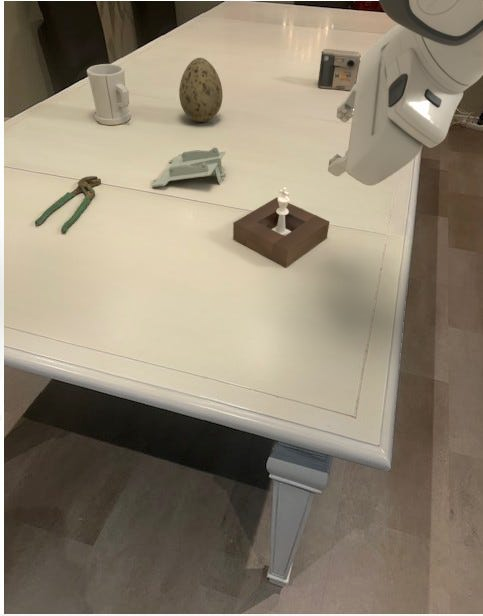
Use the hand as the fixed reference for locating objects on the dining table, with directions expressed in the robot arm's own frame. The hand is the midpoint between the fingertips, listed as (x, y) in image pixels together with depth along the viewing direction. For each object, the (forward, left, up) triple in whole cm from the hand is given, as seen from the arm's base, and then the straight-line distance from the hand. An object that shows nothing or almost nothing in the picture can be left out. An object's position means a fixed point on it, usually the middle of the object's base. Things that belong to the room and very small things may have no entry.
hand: (336, 141), depth 62 cm
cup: (+46, -63, -24) cm, 82 cm away
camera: (-14, -93, -24) cm, 97 cm away
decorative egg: (+24, -64, -24) cm, 72 cm away
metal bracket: (+23, -34, -24) cm, 47 cm away
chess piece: (+5, -12, -24) cm, 27 cm away
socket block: (+5, -12, -23) cm, 27 cm away
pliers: (+44, -21, -24) cm, 54 cm away
